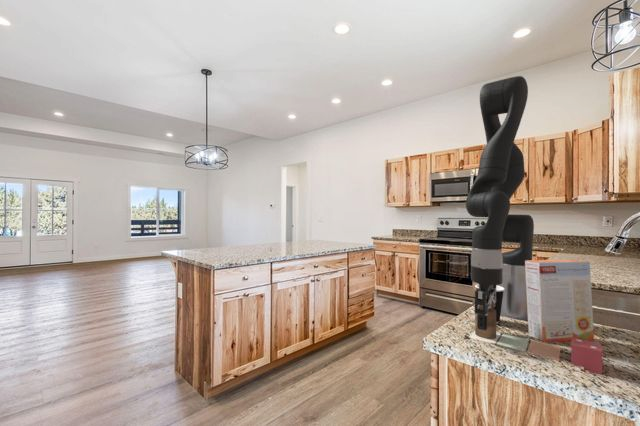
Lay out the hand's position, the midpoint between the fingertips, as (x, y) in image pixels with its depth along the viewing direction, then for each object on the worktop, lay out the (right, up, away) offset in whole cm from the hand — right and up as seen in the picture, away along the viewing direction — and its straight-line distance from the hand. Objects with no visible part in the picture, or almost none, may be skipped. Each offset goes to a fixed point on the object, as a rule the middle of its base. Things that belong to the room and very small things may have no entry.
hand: (485, 324), depth 81 cm
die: (+14, -4, -15) cm, 21 cm away
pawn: (0, -3, 0) cm, 3 cm away
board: (+5, -4, -4) cm, 7 cm away
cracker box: (+20, -4, -1) cm, 20 cm away
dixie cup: (+7, -4, +11) cm, 14 cm away
